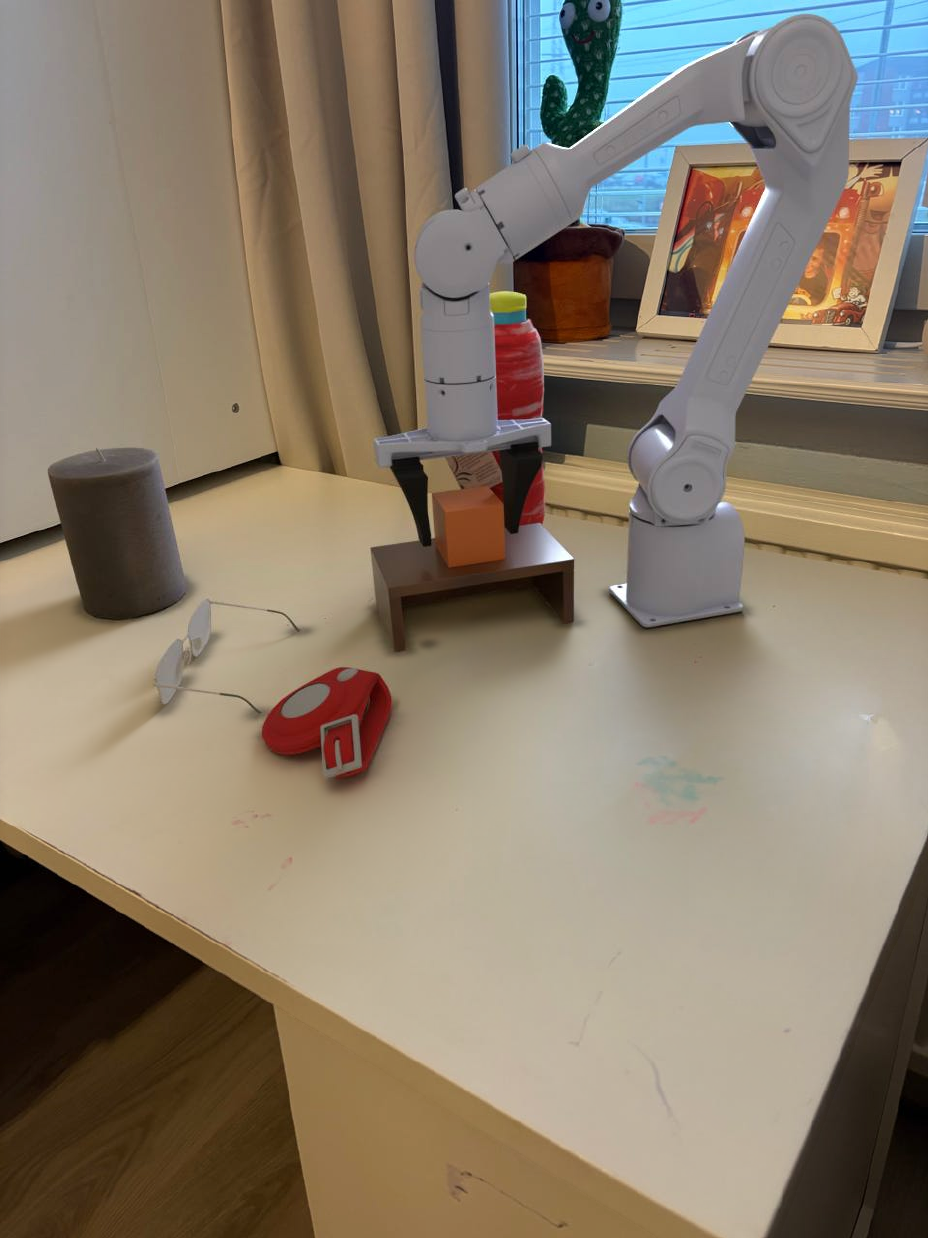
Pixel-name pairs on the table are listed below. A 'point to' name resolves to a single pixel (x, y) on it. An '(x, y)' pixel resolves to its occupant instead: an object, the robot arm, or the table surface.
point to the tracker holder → (332, 720)
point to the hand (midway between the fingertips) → (468, 535)
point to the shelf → (470, 576)
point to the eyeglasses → (198, 637)
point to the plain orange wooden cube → (468, 526)
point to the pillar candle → (118, 531)
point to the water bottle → (510, 399)
